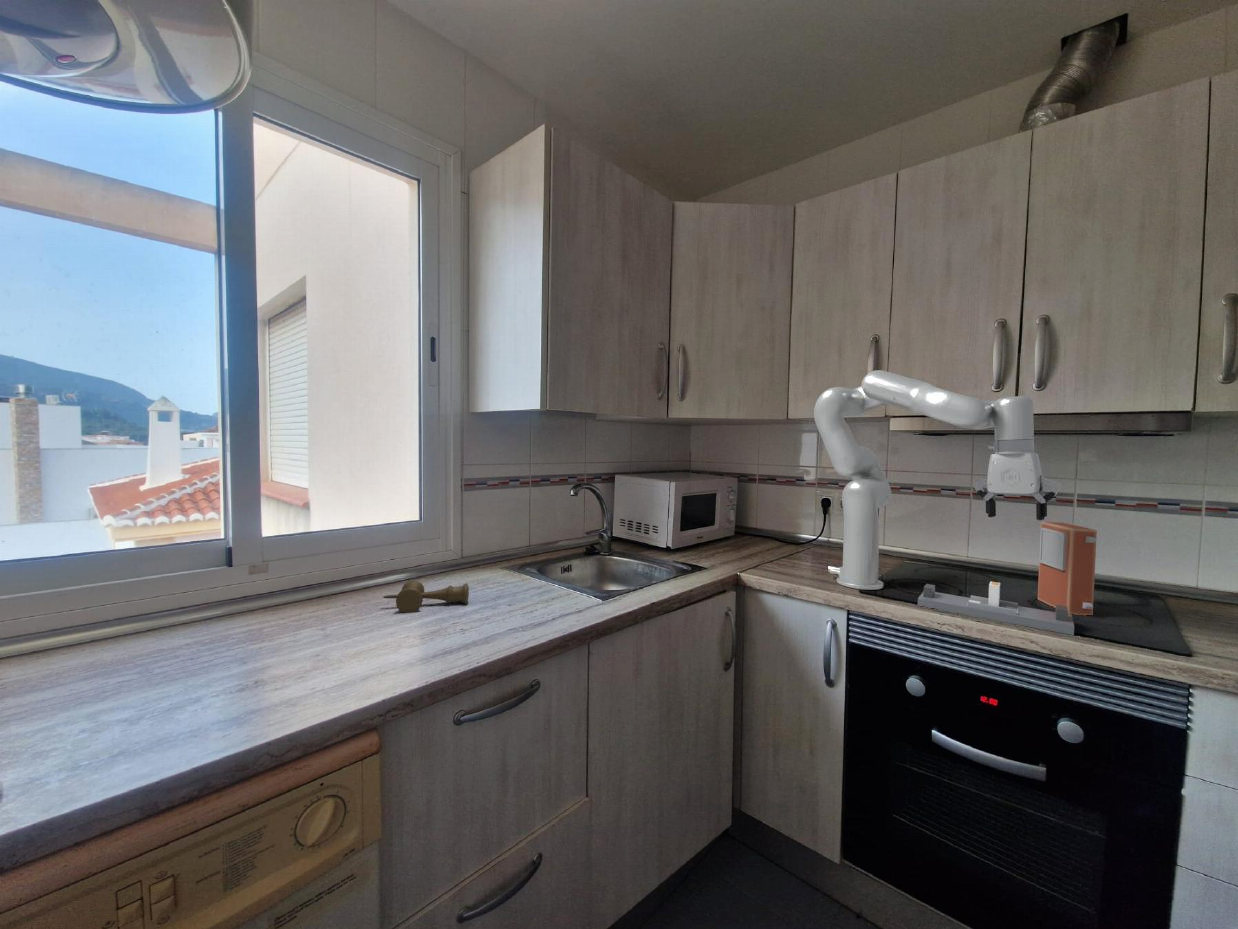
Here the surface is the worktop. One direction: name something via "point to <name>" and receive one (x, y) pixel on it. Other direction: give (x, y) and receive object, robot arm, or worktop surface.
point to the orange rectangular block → (1067, 566)
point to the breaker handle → (994, 594)
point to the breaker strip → (999, 611)
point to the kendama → (426, 596)
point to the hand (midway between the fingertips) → (1015, 518)
